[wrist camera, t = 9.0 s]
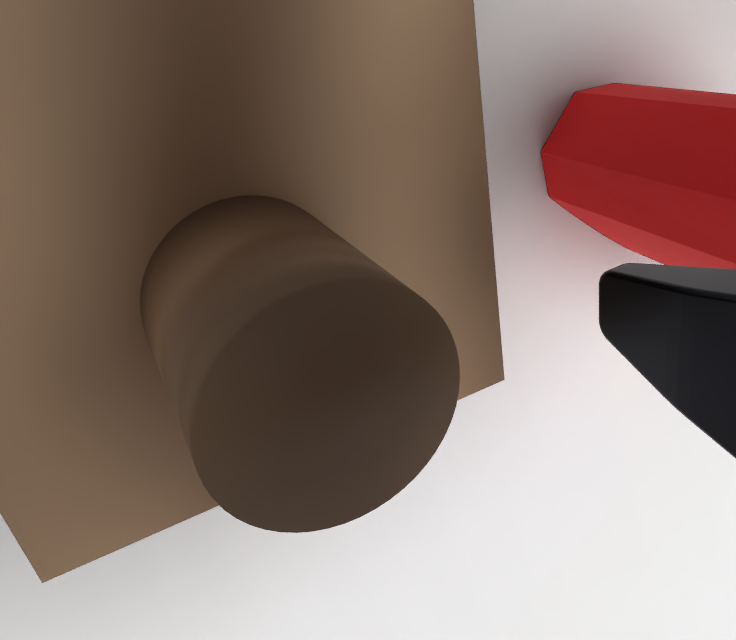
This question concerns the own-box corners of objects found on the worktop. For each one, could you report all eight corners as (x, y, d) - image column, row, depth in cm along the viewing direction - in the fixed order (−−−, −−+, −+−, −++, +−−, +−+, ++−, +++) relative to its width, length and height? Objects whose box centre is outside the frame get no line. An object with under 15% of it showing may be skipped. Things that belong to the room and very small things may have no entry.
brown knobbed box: (318, -107, 15) (665, -228, 7) (386, 286, 20) (637, 484, 12) (-188, -20, 12) (-609, -56, 4) (36, 415, 17) (49, 797, 9)
